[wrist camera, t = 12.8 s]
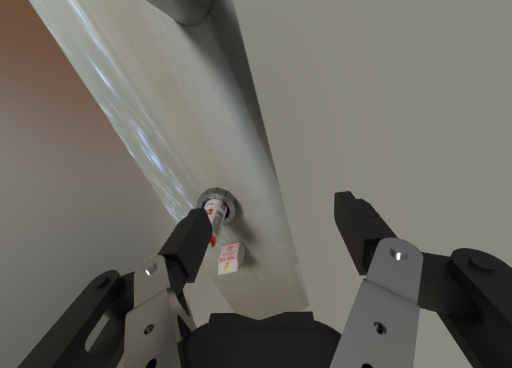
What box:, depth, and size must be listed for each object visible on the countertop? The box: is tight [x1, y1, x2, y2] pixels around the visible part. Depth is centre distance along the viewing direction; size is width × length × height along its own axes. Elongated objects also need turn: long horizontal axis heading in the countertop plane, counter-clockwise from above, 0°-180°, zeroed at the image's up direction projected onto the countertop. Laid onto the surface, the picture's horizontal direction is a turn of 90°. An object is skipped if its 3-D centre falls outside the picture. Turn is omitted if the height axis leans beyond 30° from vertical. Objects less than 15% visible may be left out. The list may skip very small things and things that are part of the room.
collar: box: [196, 188, 237, 225], centre depth 52 cm, size 11×11×3 cm
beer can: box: [204, 198, 228, 253], centre depth 46 cm, size 6×6×16 cm
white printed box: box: [218, 241, 245, 275], centre depth 58 cm, size 4×7×10 cm, turn 112°
